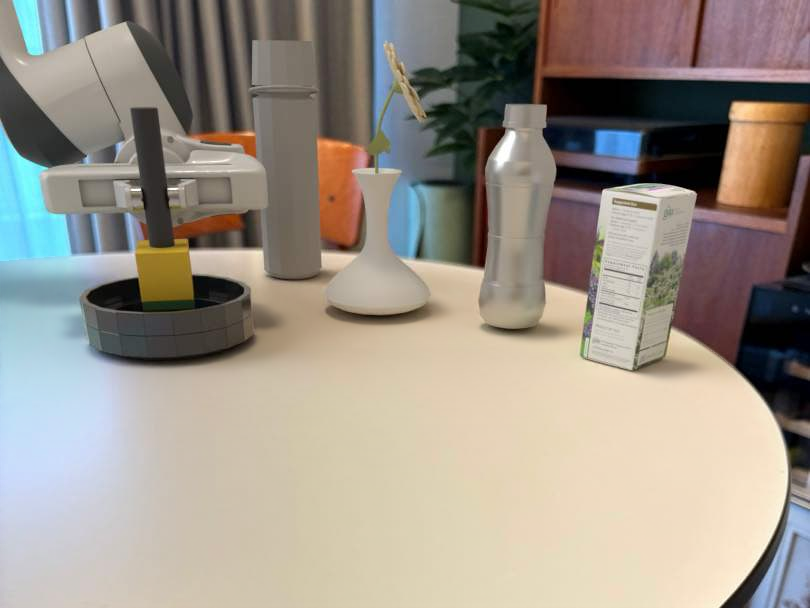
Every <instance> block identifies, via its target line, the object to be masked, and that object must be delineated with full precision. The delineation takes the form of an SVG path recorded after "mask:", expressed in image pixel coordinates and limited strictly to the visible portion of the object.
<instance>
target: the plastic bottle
mask: <svg viewBox="0 0 810 608" xmlns="http://www.w3.org/2000/svg"><path fill="white" fill-rule="evenodd" d="M547 109H548V107H547V104H538V103H536V104H535V103H506V104H505V107H504V118H503V121H502V127H503V128H505V132H504V135H503V136H502V137H501V139H500V140H499V141H498V142H497V144H496V145H495V146H494V148H493V150H492V152H491V153H490V155H489V156H488V158H487V161H486V165H485V168H484V179H485V190H486V191H485V192H486V202H487V228H488V232H487V248H486V256H485V264H484V271H483V278H482V279H481V280H482V281H481V284H480V288H479V294H478V311H479V315H480V317H481V318H482V320H483V322H484V323H485V324H487V326H491V327H495V328H500V329H507V330H518V329H527V328H532V327H535V326H536V325H538V323H539V322H540V320H541V319H542V318H543V315H544V312H545V308H546V304H547V301H546V300H547V299H546V286H545V285H546V284H545V280H544V278H545V277H544V273H545V272H544V271H545V270H544V265H545V263H544V262H545V261H544V254H545V253H544V252H545V251H544V249H545V247H544V246H545V238H546V234H545V233H546V231H545V230H546V229H547V224H548V222H547V221H548V216H549V215H548V214H549V209H550V205H551V200H552V196H553V191H554V186H555V184H554V183H555V181H556V177H557V165H556V161H555V158H554V155H553V153H552V150H551V148H550V147H549V144H548V143H547V141H546V139H545V138H544V136H543V129H545V128H547V124H548V123H547V121H546V120H547V111H548V110H547Z"/></svg>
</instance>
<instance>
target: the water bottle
mask: <svg viewBox="0 0 810 608" xmlns="http://www.w3.org/2000/svg"><path fill="white" fill-rule="evenodd" d="M251 48H252V50H251V52H252V53H251V61H252V62H251V85H252V87H250V88H248V93H250V94H252V95H257V96H255V97H252V109H253V110H252V111H253V122H254V123H253V125H254V139H255V155H256V159H257V160H258V161H259V162H260V163H261V164H262V165H263V166H264V168H265V171H266V178H267V190H268V206H267V208H266V209H262V210H259V211H260V212H259V213H260V226H261V227H260V228H261V242H262V255H263V257H262V258H263V269H264V271H265V273H266V274H268V275H269V276H271V277H273V278H275V279H281V280H304V279H310V278H313V277H316V276H317V275H318V274H319V272H320V271H321V269H322V268H323V266H322V263H323V262H322V238H321V209H320V208H321V207H320V183H319V179H320V178H319V153H318V152H319V151H318V149H319V148H318V125H317V123H318V122H317V102H316V101H317V98H315V97H313V96H311V95H314V94H317V93H319V92H320V89H319V88H317V87H315V86H317V84H318V83H317V75H316V67H315V58H314V48H313V41H309V40H308V41H307V40H285V39H284V40H280V39H276V40H274V39H273V40H272V39H257V40H255V39H254V40H253V39H252V45H251Z"/></svg>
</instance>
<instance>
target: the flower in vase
mask: <svg viewBox="0 0 810 608" xmlns="http://www.w3.org/2000/svg"><path fill="white" fill-rule="evenodd" d="M383 50H384V53H385V56H386V59H387V62H388V65H389V68H390V70H391V72H392V74H393V77H394V80H393V83H392V87H391V89H390V91H389V93H388V95H387V97H386V100H385V102H384V105H383V107H382V110H381V112H380V114H379V118H378V121H377V126H376V133H375V136H374V138H373V140H372V141H371V142H370V143H369V144H368V145H367V146H366V148H365V151H364V152H365V153H367V154H369V155H371V156H374V167H364V168H363V167H362V168H361V167H360V168H355V169H352V170H351V173H352V174H353V176H354V178H355V179H356V181H357V182H358V185H359V187H360V190H361V193H362V197H363V202H364V209H365V221H366V224H365V225H366V229H365V230H366V231H365V232H366V233H365V241H364V244H363V248H362V249H361V251H360V252H359V253H358V255H356V257H354V259H352V260H351V261H350V262H349V263H348V264H347V265H345V266H344V267H343V268H342V269H340V271H339V272H338V273H337V274H335V275H334V276H333V278H332V279H331V280H330V281H329V282H328V283H327V285H326V287H325V290H324V293H323V297H324V298H325V299H326V301H327V303H329V304H330V305H331V306H333V307H335V308H337V309H340V310H341V311H344V312H347V313H353V314H359V315H366V316H367V315H369V316H387V315H388V316H389V315H397V314H404V313H408V312H411V311H414V310H417V309H419V308H421V307H423V306H425V305H426V304H427V303H428V302H429V300H430V299H431V295H432V294H431V291H430V288H429V286H428V284H427V283H426V281H424V280H423V278H421V276H420V275H418V274H417V272H415V271H414V270H413V269H412V268H411V267H410V266H408V265H407V263H405V262H404V261H403V260H402V259H401V258H400V257H399V256H397V254H396V253H395V252H394V250H393V249H392V246H391V244H390V238H389V214H390V213H389V212H390V205H391V204H390V203H391V199H392V194H393V191H394V188H395V185H396V183H397V181H398V180H399V178H400V176H401V175H402V173H403V171H402V169H396V168H387V167H379V155H381V154H382V153H383V152H385V153H386V154H388V155H389V154H390V153H391V147H390V146H391V144H392V142H391V140H389V139H388V138H387V136H386V134H385V132H384V131H383V130H382V129H381V128H382V123H383V121H384V117H385V114H386V112H387V110H388V107H389V104H390V102H391V100H392V98H393V96H394V94H395V93H396V94H398V95H402V96H403V97H404V99H405V101H406V103H407V106H408V107H409V109H410V110H411V112H412V114H413V115H414V117H415V118H416V119H417V121H418V122H419V123H425V121H426V120H425V119H426V118H427V114H426V112H425V110H424V109H423V108H422V107H421V105H420V103H419V102H420V96H419V95H418V93H417V91H416V90H415V89H414V87H412V86H411V83H410V81H409V79H408V73H407V69H406V66H405V64H404V63H403V61H399V58H398V54H397V51H396V47H395V46H394V44H393V42H389V43H388V40H387V39H385V41H384V43H383ZM424 118H425V119H424Z"/></svg>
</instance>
